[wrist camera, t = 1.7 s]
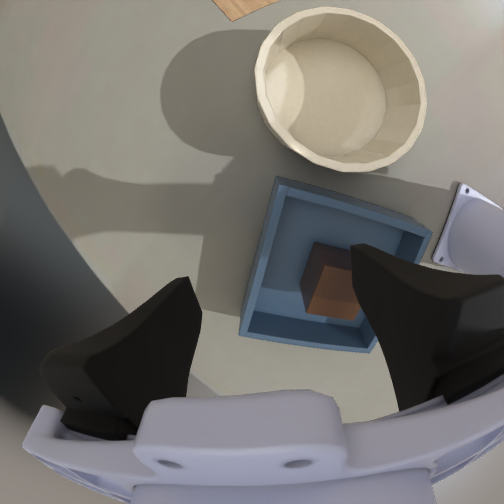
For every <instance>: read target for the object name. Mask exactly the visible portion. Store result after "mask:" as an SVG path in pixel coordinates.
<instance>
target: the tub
mask: <svg viewBox="0 0 504 504" xmlns="http://www.w3.org/2000/svg"><path fill="white" fill-rule="evenodd" d="M432 233H433V232H432V231H430V230H429V229H427V228H426V227H425V226H423V225H422V224H420V223H419V222H417V221H416V220H414V219H413V218H411V217H408V216H405V215H403V214H400V213H397V212H394V211H392V210H389V209H386V208H383V207H380V206H377V205H374V204H371V203H368V202H365V201H362V200H359V199H356V198H353V197H350V196H346V195H343V194H340V193H336V192H333V191H330V190H326V189H323V188H319V187H316V186H312V185H309V184H305V183H301V182H297V181H294V180H290V179H286V178H282V177H278V176H276V178H275V182H274V185H273V189H272V193H271V197H270V201H269V205H268V209H267V213H266V217H265V220H264V224H263V228H262V232H261V236H260V240H259V244H258V248H257V251H256V255H255V259H254V263H253V267H252V271H251V274H250V278H249V282H248V286H247V290H246V294H245V297H244V301H243V305H242V309H241V316H240V326H239V336H243V337H249V338H254V339H260V340H266V341H272V342H278V343H284V344H291V345H298V346H305V347H313V348H321V349H329V350H338V351H348V352H359V353H370V352H371V351H372V349H373V348H374V346H375V345H376V343H377V341H378V339H377V337H376V335H375V333H374V331H373V329H372V327H371V325H370V324H369V322H368V320H367V318H366V316H365V314H364V312H363V310H362V308H360V310H359V312H358V314H357V316H356V318H355V319H354V321H351V320H344V319H338V318H331V317H325V316H319V315H313V314H307V313H306V312H305V307H304V303H303V298H302V294H301V290H300V285H299V284H300V281H301V278H302V275H303V273H304V270H305V267H306V264H307V261H308V258H309V255H310V253H311V250H312V247H313V244H314V242H318V243H322V244H326V245H330V246H334V247H338V248H342V249H346V250H350V246H351V245H356V244H361V243H365V244H368V245H370V246H373V247H375V248H378V249H380V250H382V251H384V252H387V253H389V254H391V255H394V256H396V257H398V258H401V259H404V260H406V261H409V262H412V263H415V264H418V265H419V263H420V261H421V259H422V257H423V254H424V252H425V250H426V247H427V245H428V243H429V240H430V238H431V235H432Z"/></svg>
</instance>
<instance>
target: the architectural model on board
mask: <svg viewBox="0 0 504 504" xmlns="http://www.w3.org/2000/svg"><path fill="white" fill-rule="evenodd" d="M213 1H214V2H215V3H216V4H217V5H218V7H219V8H220V9H221V10H222V11H223V12H224V13H225V14H226V15H227V17H228V18H229V19H230V20H231V21H234V20H236V19H238V18H240V17H242V16H244V15H247V14H249V13H251V12H253V11H255V10H257V9H260V8H262V7H264V6H267V5H269V4H271V3H274V2H276V1H279V0H213Z"/></svg>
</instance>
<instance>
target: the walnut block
mask: <svg viewBox="0 0 504 504" xmlns="http://www.w3.org/2000/svg"><path fill="white" fill-rule="evenodd" d="M299 285H300V290H301V294H302V298H303V303H304V307H305V312H306V313H307V314H313V315H319V316H325V317H331V318H338V319H344V320H351V321H354V319H355V318H356V316H357V314H358V312H359V310H360V308H361V307H360V305H359V303H358V300H357V297H356V295H355V292H354V289H353V286H352V268H351V251H350V250H346V249H342V248H338V247H334V246H330V245H326V244H322V243H318V242H314V244H313V247H312V250H311V253H310V255H309V258H308V261H307V264H306V267H305V270H304V273H303V275H302V278H301V281H300V284H299Z"/></svg>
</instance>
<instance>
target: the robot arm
mask: <svg viewBox="0 0 504 504" xmlns="http://www.w3.org/2000/svg"><path fill="white" fill-rule="evenodd" d="M466 189H467V190H466ZM465 191H466V192H465ZM350 251H351V268H352V286H353V289H354V292H355V295H356V297H357V300H358V303H359V305H360V307H361V308H362V310H363V312H364V314H365V316H366V318H367V320H368V322H369V324H370V325H371V327H372V329H373V331H374V333H375V335H376V337H377V339H378V341H379V343H380V346H381V348H382V351H383V354H384V357H385V360H386V363H387V366H388V369H389V372H390V376H391V379H392V383H393V386H394V390H395V394H396V399H397V403H398V408H399V412H397V413H394V414H391V415H388V416H385V417H381V418H378V419H375V420H371V421H366V422H357V423H345V424H342V419H341V414H340V410H339V407H338V406H337V404H336V402H335V400H334V399H333V397H330V396H327V395H324V394H321V393H318V392H315V391H312V390H279V391H272V392H263V393H254V394H244V395H231V396H214V397H186V393H187V384H188V376H189V372H190V368H191V364H192V360H193V357H194V353H195V349H196V346H197V342H198V338H199V334H200V330H201V322H202V310H201V308H200V305H199V303H198V300H197V298H196V295H195V293H194V290H193V287H192V285H191V282H190V279H189V277H188V276H187V277H182V278H176V279H175V280H173V281H171V282H170V283H169V284H167V285H166V286H165V287H163V288H162V289H161V290H160V291H158V292H157V293H156V294H155V295H153V296H152V297H151V298H150V299H149V300H147V301H146V302H145V303H143V304H142V305H141V306H140V307H138V308H137V309H136V310H134V311H133V312H132V313H130V314H129V315H128V316H126V317H124V318H123V319H121V320H120V321H118V322H117V323H115V324H114V325H112V326H110V327H108V328H106V329H104V330H102V331H100V332H98V333H97V334H94V335H92V336H90V337H88V338H85V339H83V340H80V341H78V342H75V343H72V344H69V345H66V346H63V347H60V348H56V349H53V350H51V351H50V352H49V354H48V355H47V356H46V358H45V359H44V361H43V362H42V364H41V365H40V369H39V370H40V374H41V377H42V379H43V380H44V382H45V383H46V385H47V386H48V387H49V389H50V390H51V391H52V392H53V393H54V394H55V395H56V396H57V398H58V399H59V400H60V401H61V402H62V403H63V404H64V405H65V406H66V407H67V408H66V410H65V412H62V411H61V410H59V409H56V408H52V407H50V406H46V405H43V406H42V407H41V409H40V411H39V413H38V415H37V417H36V418H35V420H34V422H33V424H32V426H31V428H30V430H29V432H28V434H27V436H26V438H25V440H24V442H23V444H22V447H23V448H24V449H25V450H27V451H28V452H29V453H30V454H32V455H33V456H34V457H36V458H37V459H38V460H40V461H41V462H42V463H44V464H45V465H46V466H48V467H49V468H51V469H52V470H54V471H55V472H57V473H58V474H60V475H61V476H63V477H65V478H67V479H69V480H71V481H74V482H76V483H78V484H80V485H82V486H85V487H87V488H89V489H91V490H94V491H96V492H98V493H101V494H103V495H106V496H108V497H111V498H114V499H116V500H119V501H122V502H125V503H128V504H437V503H436V499H435V495H434V491H433V487H432V485H433V484H435V483H437V482H439V481H441V480H443V479H445V478H446V477H448V476H450V475H452V474H454V473H455V472H457V471H459V470H461V469H462V468H464V467H466V466H467V465H469V464H471V463H472V462H474V461H475V460H477V459H478V458H480V457H481V456H483V455H484V454H486V453H487V452H489V451H490V450H492V449H493V448H494V447H496V446H497V445H498V444H500V443H501V442H502V441H503V440H504V209H502V208H501V207H499V206H498V205H497V204H495V203H494V202H492V201H491V200H489V199H488V198H486V197H485V196H483V195H482V194H480V193H479V192H477V191H476V190H474V189H472V188H471V187H469V186H468V185H466V184H464V183H461V184H460V185H459V187H458V190H457V193H456V197H455V200H454V203H453V206H452V209H451V211H450V214H449V217H448V220H447V222H446V225H445V228H444V230H443V233H442V235H441V238H440V240H439V243H438V245H437V247H436V250H435V252H434V254H433V257H432V260H433V261H434V262H435V263H437V264H441V265H444V266H447V267H450V268H453V269H457V270H460V271H463V272H464V273H465V274H461V273H453V272H447V271H441V270H436V269H432V268H428V267H425V266H421V265H418V264H415V263H412V262H409V261H406V260H404V259H401V258H398V257H396V256H394V255H391V254H389V253H387V252H384V251H382V250H380V249H378V248H375V247H373V246H370V245H368V244H365V243H361V244H356V245H351V246H350ZM440 258H441V259H440ZM439 259H440V260H439Z"/></svg>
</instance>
